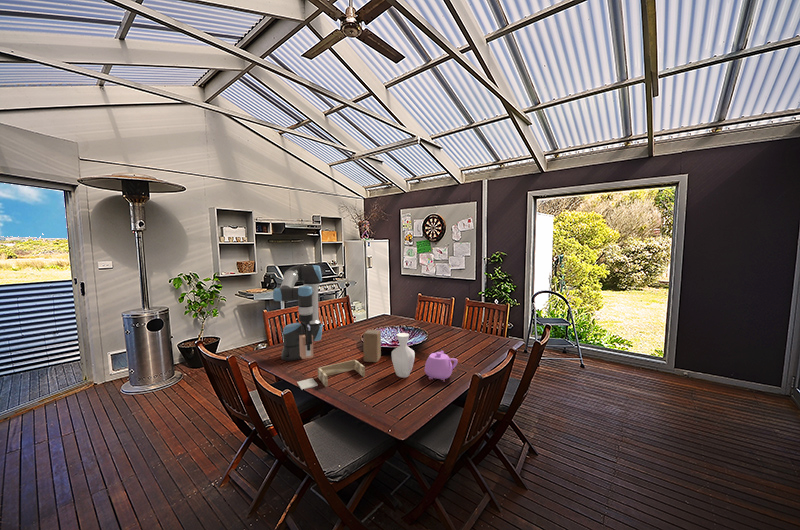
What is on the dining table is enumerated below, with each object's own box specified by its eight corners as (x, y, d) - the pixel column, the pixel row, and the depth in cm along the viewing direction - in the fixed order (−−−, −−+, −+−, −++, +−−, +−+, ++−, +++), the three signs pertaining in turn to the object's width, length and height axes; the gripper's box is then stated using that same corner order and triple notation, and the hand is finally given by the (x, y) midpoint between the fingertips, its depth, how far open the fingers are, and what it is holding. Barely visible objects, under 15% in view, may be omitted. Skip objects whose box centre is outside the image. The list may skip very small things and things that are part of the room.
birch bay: (317, 377, 180) (317, 367, 179) (355, 368, 193) (355, 359, 192) (325, 386, 168) (325, 376, 168) (364, 376, 181) (364, 366, 181)
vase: (388, 371, 188) (387, 332, 186) (408, 368, 193) (408, 330, 191) (396, 381, 175) (396, 339, 173) (418, 377, 180) (418, 336, 178)
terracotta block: (310, 353, 174) (309, 333, 173) (313, 356, 169) (313, 336, 168) (299, 355, 171) (299, 335, 170) (302, 359, 166) (302, 337, 165)
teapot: (460, 371, 189) (460, 348, 188) (455, 385, 170) (455, 359, 169) (429, 367, 195) (429, 344, 194) (421, 380, 176) (421, 355, 175)
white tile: (297, 382, 173) (297, 381, 173) (312, 379, 178) (312, 378, 178) (301, 390, 164) (301, 388, 164) (317, 385, 169) (317, 384, 169)
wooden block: (377, 363, 201) (377, 334, 200) (363, 361, 203) (362, 333, 202) (381, 357, 211) (381, 329, 210) (367, 356, 213) (367, 328, 212)
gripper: (294, 311, 174) (295, 350, 176) (303, 318, 158) (304, 360, 160) (307, 309, 178) (308, 347, 180) (317, 316, 162) (318, 357, 164)
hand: (306, 353), depth 170 cm, fingers closed on terracotta block, 6 cm apart
